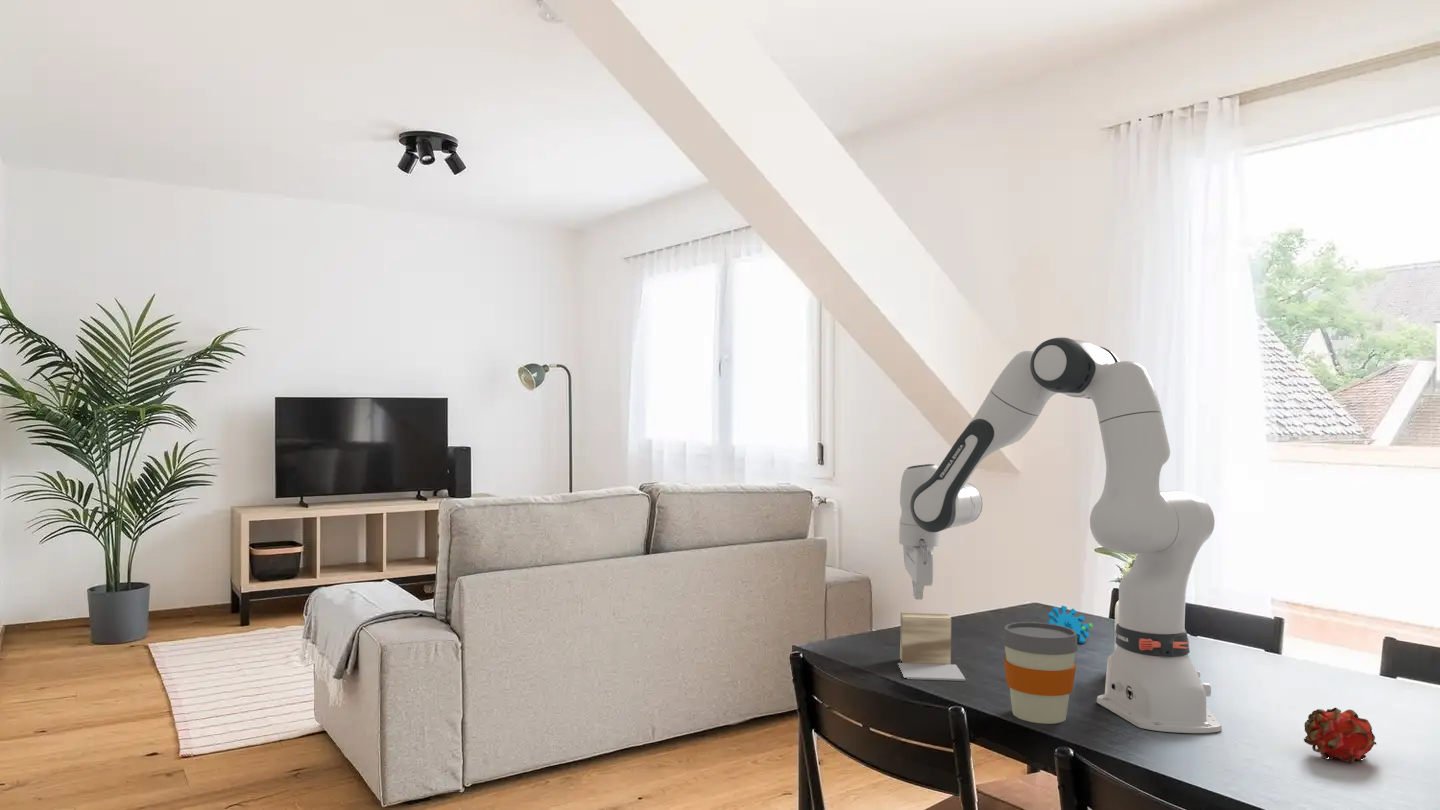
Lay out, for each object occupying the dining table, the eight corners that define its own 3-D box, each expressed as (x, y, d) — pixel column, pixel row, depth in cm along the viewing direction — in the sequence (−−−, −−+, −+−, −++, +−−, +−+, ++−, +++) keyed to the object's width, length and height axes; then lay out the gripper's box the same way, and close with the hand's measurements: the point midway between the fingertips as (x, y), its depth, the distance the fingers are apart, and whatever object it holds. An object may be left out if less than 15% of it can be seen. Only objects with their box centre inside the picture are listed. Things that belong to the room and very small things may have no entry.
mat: (965, 680, 188) (965, 678, 188) (904, 678, 189) (904, 676, 189) (955, 666, 199) (955, 664, 199) (897, 664, 200) (897, 662, 200)
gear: (1055, 638, 218) (1045, 601, 225) (1044, 652, 222) (1034, 615, 229) (1100, 644, 219) (1089, 607, 226) (1088, 657, 223) (1077, 621, 230)
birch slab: (950, 666, 199) (951, 618, 199) (902, 664, 200) (902, 616, 200) (947, 661, 203) (948, 614, 203) (900, 659, 204) (900, 612, 204)
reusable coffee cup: (995, 719, 165) (996, 632, 165) (1009, 700, 176) (1010, 619, 176) (1071, 731, 159) (1072, 642, 159) (1081, 711, 170) (1082, 627, 170)
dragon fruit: (1298, 768, 148) (1363, 775, 151) (1340, 752, 142) (1407, 759, 144) (1280, 714, 153) (1343, 721, 156) (1319, 696, 147) (1384, 704, 149)
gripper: (941, 544, 202) (939, 609, 202) (926, 530, 223) (925, 589, 223) (910, 543, 203) (909, 608, 203) (899, 529, 223) (898, 588, 223)
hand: (917, 598), depth 213 cm, fingers closed
